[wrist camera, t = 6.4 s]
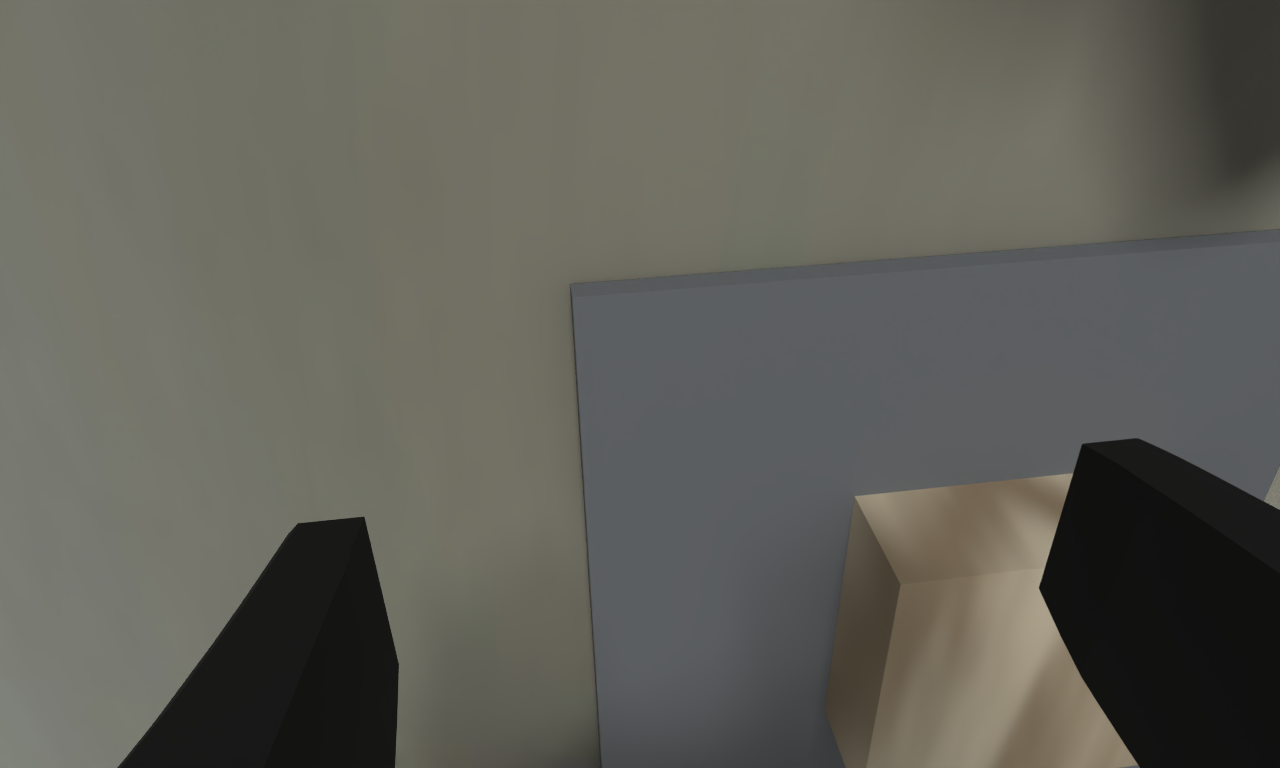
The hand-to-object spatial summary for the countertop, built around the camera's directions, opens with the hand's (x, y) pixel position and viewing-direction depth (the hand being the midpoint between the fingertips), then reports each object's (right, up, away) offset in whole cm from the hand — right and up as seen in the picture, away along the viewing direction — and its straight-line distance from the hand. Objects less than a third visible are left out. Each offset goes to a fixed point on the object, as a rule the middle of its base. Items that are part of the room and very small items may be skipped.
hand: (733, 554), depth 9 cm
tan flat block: (+5, -5, +14) cm, 16 cm away
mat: (+7, -4, +16) cm, 18 cm away
